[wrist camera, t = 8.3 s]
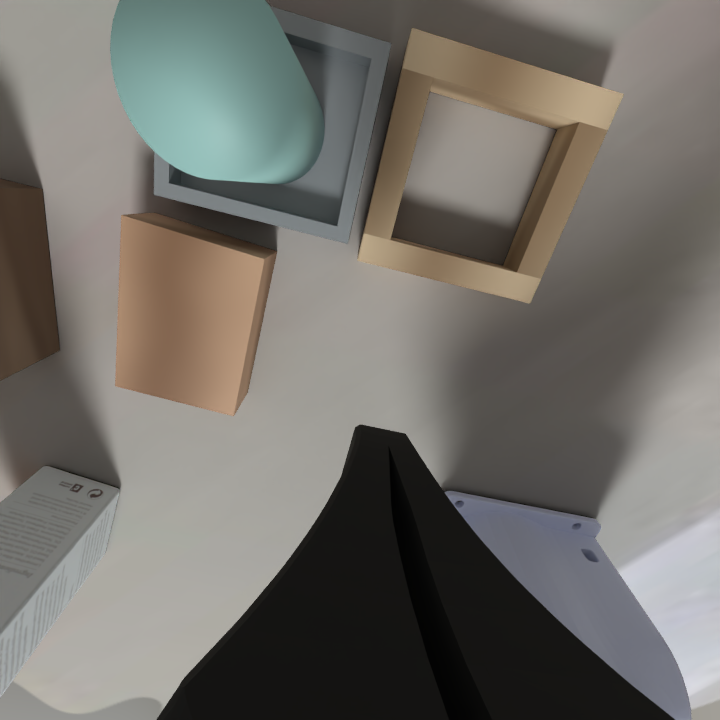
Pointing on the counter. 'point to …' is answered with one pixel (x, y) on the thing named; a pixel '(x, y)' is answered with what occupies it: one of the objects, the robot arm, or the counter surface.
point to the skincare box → (46, 556)
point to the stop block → (24, 280)
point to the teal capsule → (216, 89)
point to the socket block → (508, 96)
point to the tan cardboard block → (189, 311)
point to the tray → (340, 146)
